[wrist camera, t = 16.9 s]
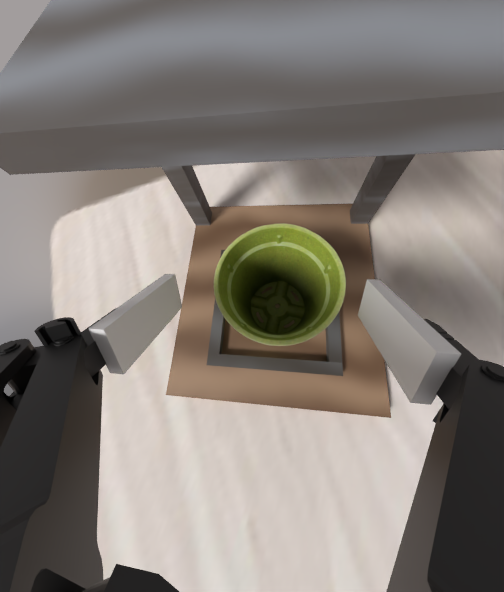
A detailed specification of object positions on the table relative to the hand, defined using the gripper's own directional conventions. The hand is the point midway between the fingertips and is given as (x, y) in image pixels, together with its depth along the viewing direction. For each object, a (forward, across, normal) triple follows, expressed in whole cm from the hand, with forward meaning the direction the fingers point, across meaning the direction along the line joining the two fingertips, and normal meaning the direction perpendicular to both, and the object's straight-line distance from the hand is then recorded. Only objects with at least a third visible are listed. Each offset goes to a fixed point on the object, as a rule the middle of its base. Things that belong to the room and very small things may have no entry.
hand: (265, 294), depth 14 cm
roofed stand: (+9, 0, -5) cm, 10 cm away
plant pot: (+7, +1, -5) cm, 9 cm away
